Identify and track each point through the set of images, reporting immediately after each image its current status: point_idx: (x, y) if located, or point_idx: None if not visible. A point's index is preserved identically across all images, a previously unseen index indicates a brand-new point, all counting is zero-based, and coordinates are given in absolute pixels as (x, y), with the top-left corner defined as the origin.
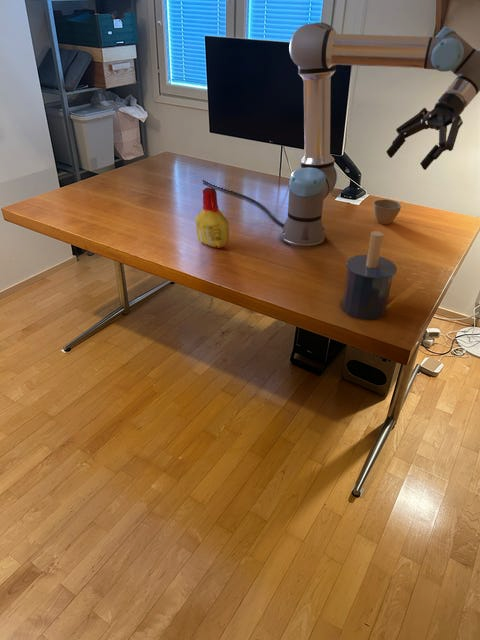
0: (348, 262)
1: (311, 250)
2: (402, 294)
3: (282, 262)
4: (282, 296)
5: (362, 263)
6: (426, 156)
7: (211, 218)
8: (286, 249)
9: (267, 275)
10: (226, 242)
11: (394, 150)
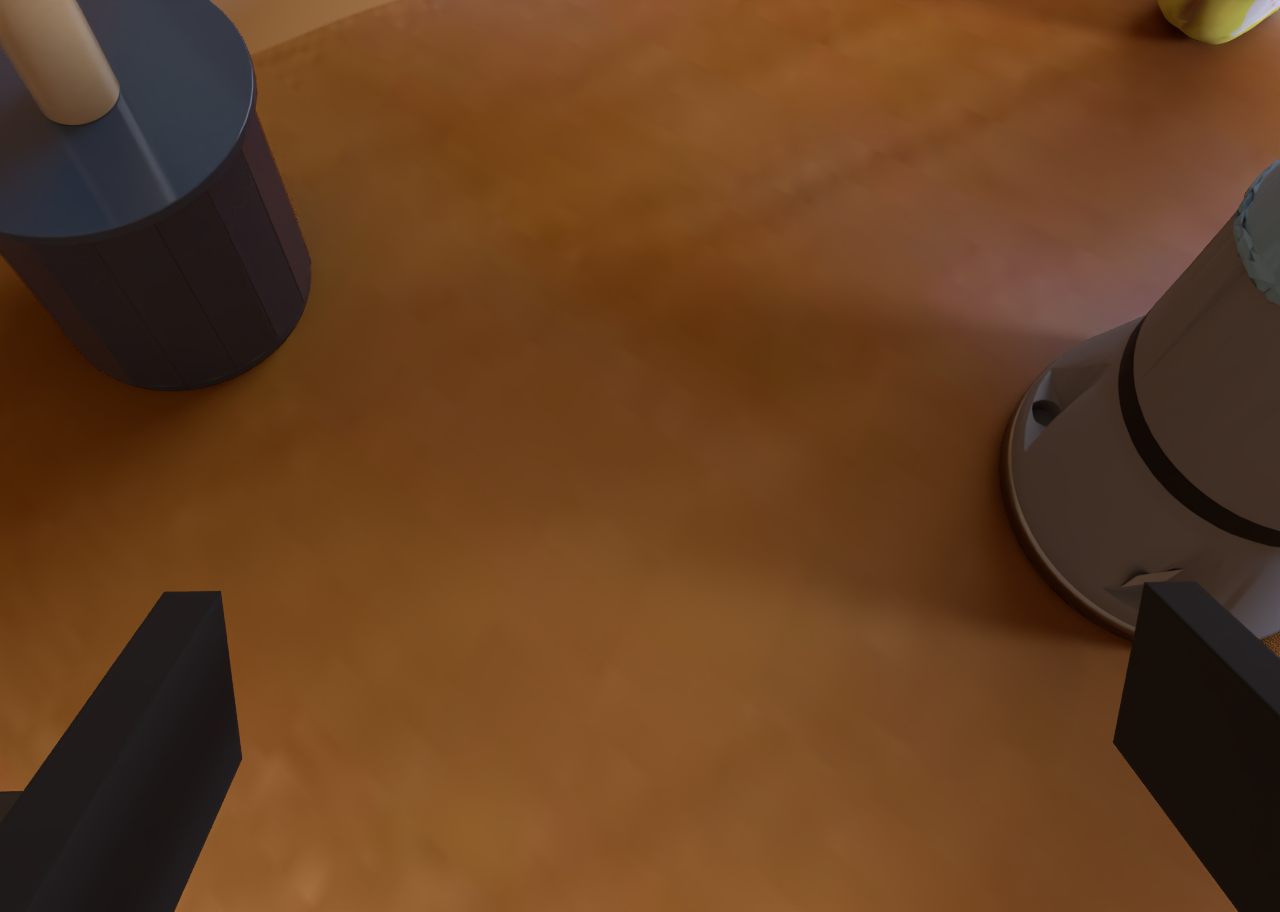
0: (206, 10)
1: (961, 443)
2: (153, 581)
3: (868, 204)
4: (521, 28)
5: (138, 67)
6: (140, 688)
7: None
8: (1031, 313)
9: (755, 69)
10: (1170, 9)
11: (1193, 766)
